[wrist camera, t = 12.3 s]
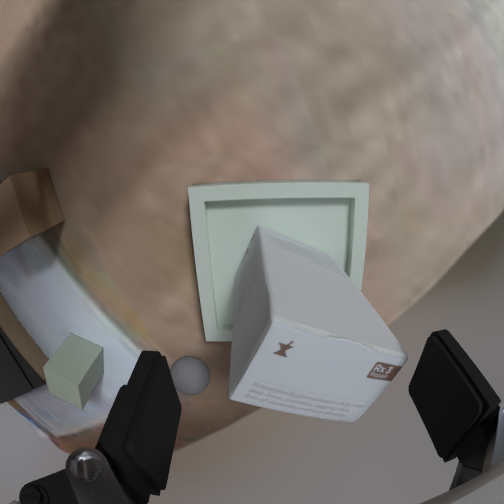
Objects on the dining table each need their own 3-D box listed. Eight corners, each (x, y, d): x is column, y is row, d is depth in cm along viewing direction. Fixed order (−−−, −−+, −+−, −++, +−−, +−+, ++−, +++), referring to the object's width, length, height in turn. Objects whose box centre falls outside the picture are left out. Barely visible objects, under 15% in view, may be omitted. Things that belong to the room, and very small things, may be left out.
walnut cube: (17, 190, 20) (-19, 201, 15) (48, 167, 19) (10, 175, 15) (33, 237, 21) (0, 255, 17) (65, 219, 21) (30, 237, 16)
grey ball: (171, 347, 25) (161, 373, 21) (209, 348, 25) (204, 375, 21) (178, 375, 26) (170, 401, 22) (214, 376, 26) (210, 403, 22)
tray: (193, 184, 20) (188, 187, 18) (359, 180, 20) (369, 183, 18) (209, 328, 24) (206, 341, 22) (348, 322, 24) (354, 334, 22)
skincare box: (235, 275, 21) (216, 405, 10) (258, 219, 20) (263, 314, 8) (310, 302, 22) (350, 431, 10) (337, 251, 20) (414, 359, 9)
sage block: (71, 332, 25) (42, 367, 19) (103, 346, 25) (78, 385, 19) (73, 358, 26) (49, 393, 20) (103, 372, 26) (82, 410, 21)
